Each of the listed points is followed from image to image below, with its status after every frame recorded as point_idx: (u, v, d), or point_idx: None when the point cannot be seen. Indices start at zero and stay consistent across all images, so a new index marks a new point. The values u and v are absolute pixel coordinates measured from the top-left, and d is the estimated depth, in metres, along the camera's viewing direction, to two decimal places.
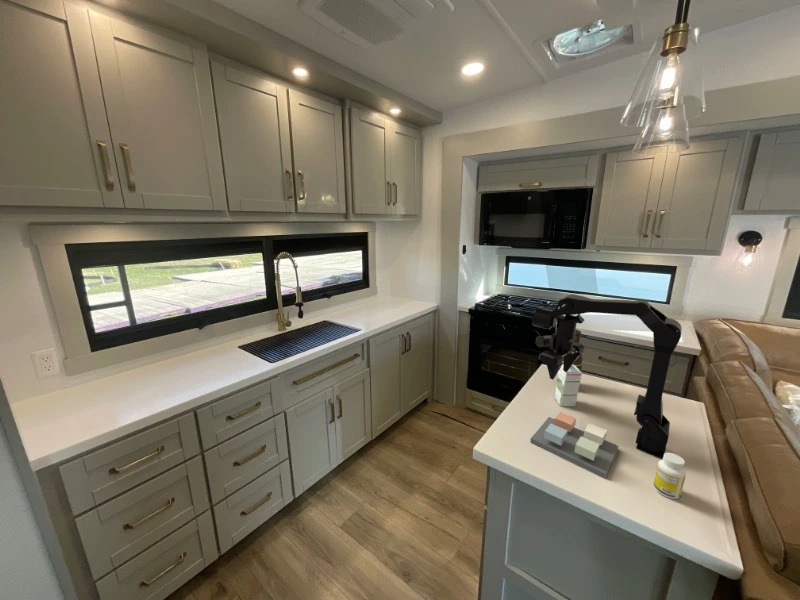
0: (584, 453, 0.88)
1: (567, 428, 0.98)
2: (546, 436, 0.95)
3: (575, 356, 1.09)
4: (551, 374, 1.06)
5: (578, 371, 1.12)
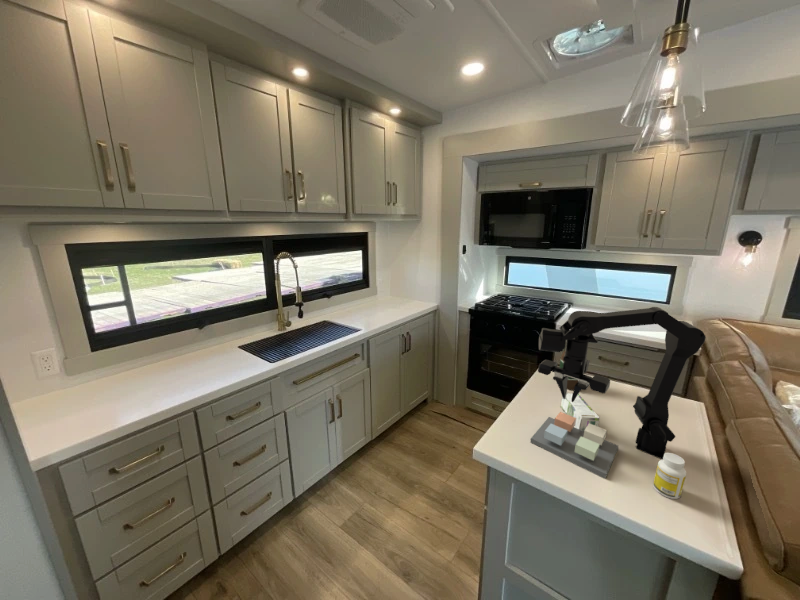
0: (584, 453, 0.88)
1: (567, 428, 0.98)
2: (546, 436, 0.95)
3: (575, 385, 0.94)
4: None
5: None
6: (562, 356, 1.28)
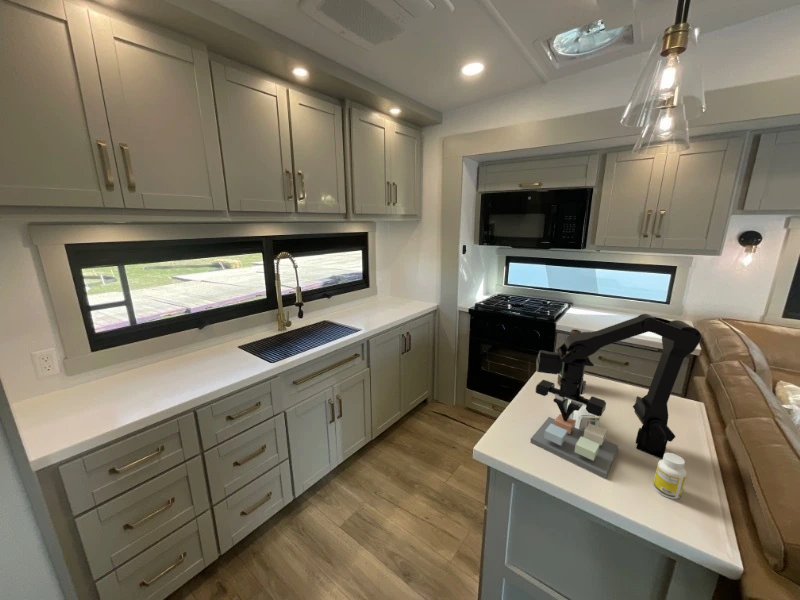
0: (584, 453, 0.88)
1: (567, 430, 0.98)
2: (546, 436, 0.95)
3: (568, 406, 0.97)
4: None
5: None
6: None
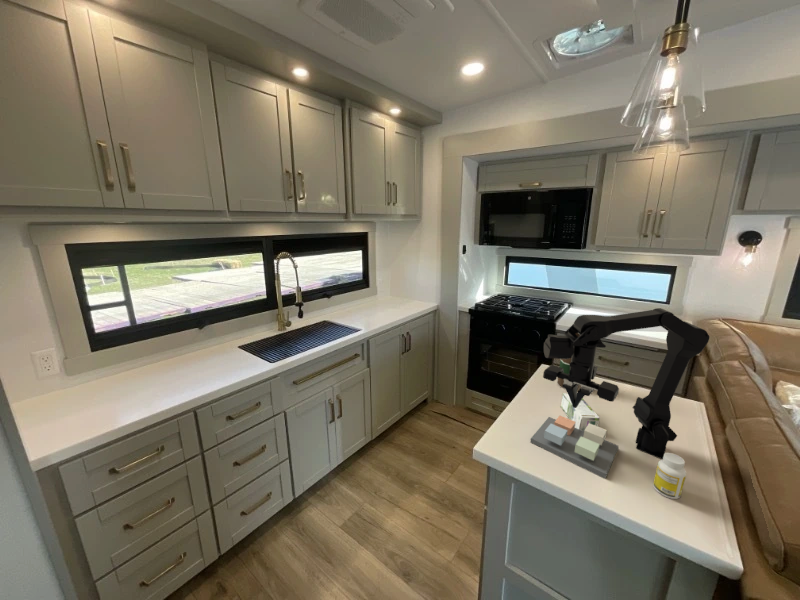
0: (584, 453, 0.88)
1: None
2: (546, 436, 0.95)
3: (578, 391, 0.92)
4: None
5: None
6: None
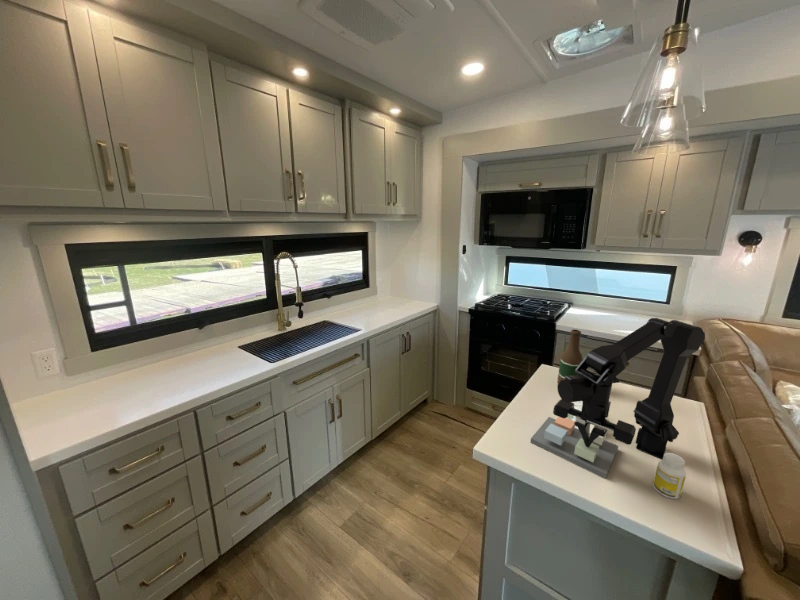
0: (584, 455, 0.88)
1: None
2: (546, 436, 0.95)
3: (591, 431, 0.85)
4: None
5: None
6: (562, 356, 1.28)
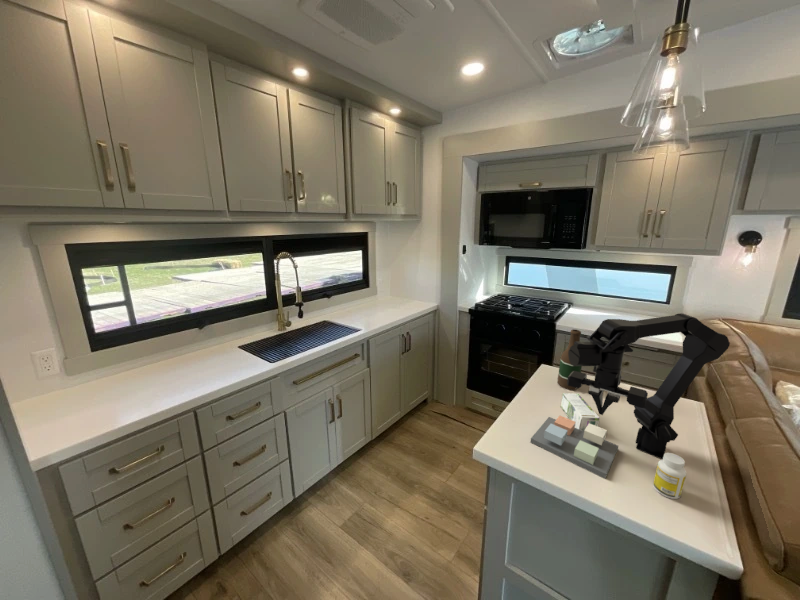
0: (583, 457, 0.88)
1: None
2: (546, 436, 0.95)
3: (605, 398, 0.89)
4: None
5: None
6: (562, 356, 1.28)
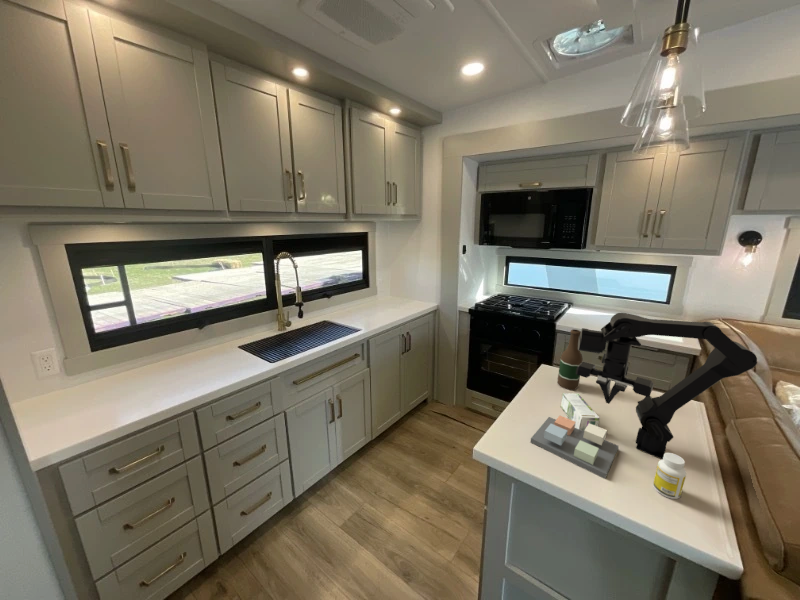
0: (583, 457, 0.88)
1: None
2: (546, 436, 0.95)
3: (612, 387, 0.94)
4: None
5: None
6: (562, 356, 1.28)
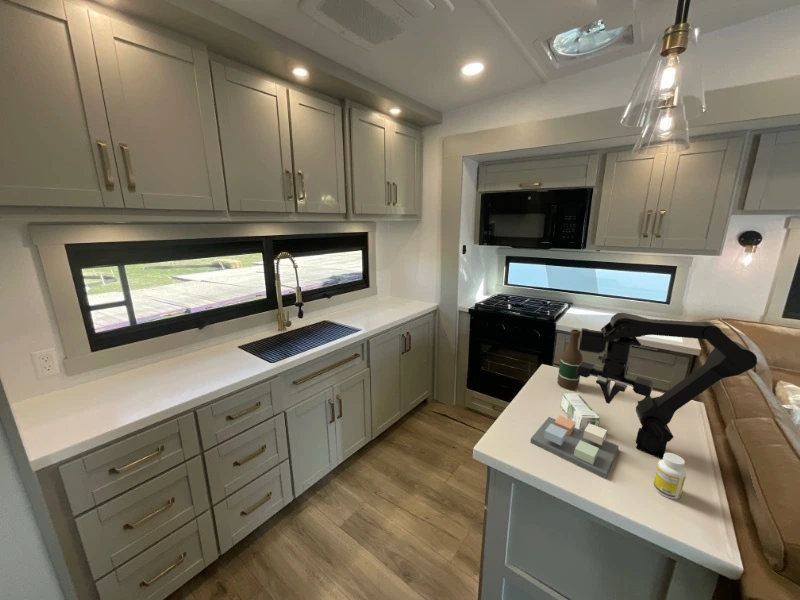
0: (583, 457, 0.88)
1: None
2: (546, 436, 0.95)
3: None
4: None
5: None
6: (562, 356, 1.28)
